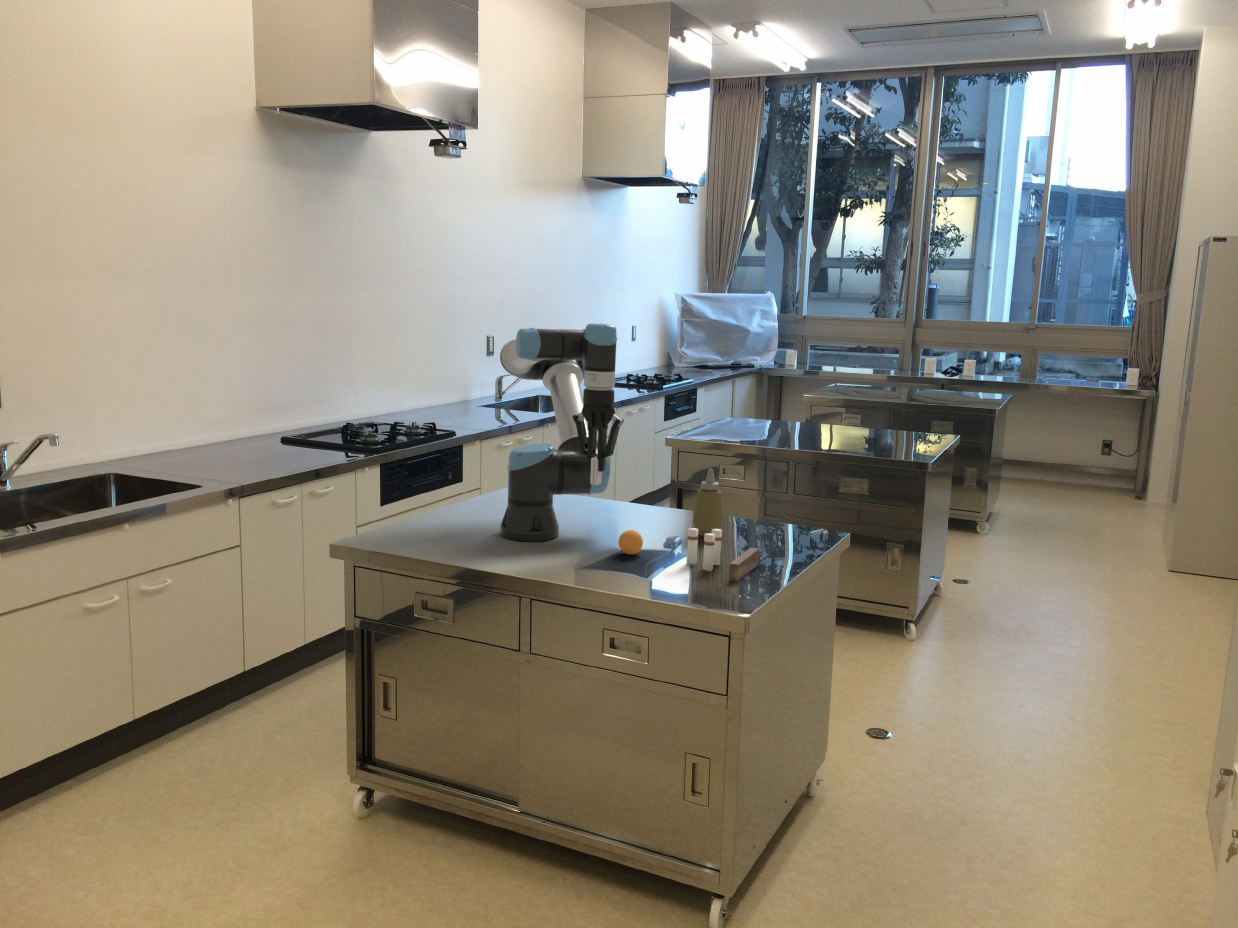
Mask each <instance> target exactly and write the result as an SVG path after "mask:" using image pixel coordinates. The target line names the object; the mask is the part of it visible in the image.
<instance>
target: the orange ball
mask: <svg viewBox="0 0 1238 928" xmlns="http://www.w3.org/2000/svg"><path fill="white" fill-rule="evenodd" d="M643 544H644V539H643V537H642V535H641V533H639V532H638V531H637V530H634V529H629V530H625V531H624V532H622V533H621V534H620V535H619V537H618V544H617V545H618V547H619V549H620V551H622V552H623V553H624V554H626V555H636V554H637V553H639V552H640V551H641V550H642V548H643V546H644V545H643Z"/></svg>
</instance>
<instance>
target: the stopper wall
mask: <svg viewBox="0 0 1238 928" xmlns="http://www.w3.org/2000/svg"><path fill="white" fill-rule="evenodd" d="M759 551H760V549H759V548H757V547H750V548H748V549H747V550H746V551H744V552H743V553H742V554H740V555H739V556H738V557H736V558H735V559H734V560H733V561H731V562H730V563H729V572H728V574H729V575H728V581H729V582H730V581H731V582H739V581H740V580H741V579H743V578H744V577H746V576H747V574H749V573H750V572H751V571H752V570H754V569H755V568H756V567H757V566H758V565H759Z"/></svg>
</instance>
